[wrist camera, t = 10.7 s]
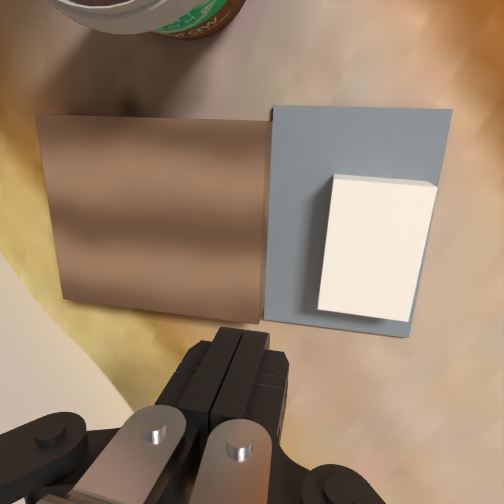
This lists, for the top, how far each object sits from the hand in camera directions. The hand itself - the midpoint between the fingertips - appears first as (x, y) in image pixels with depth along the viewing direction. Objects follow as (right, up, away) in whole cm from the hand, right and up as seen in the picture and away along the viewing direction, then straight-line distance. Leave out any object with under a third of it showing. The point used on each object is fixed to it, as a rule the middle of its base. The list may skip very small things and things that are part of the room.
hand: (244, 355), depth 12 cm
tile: (+8, +4, +14) cm, 16 cm away
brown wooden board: (-6, +6, +18) cm, 20 cm away
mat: (+7, +5, +15) cm, 17 cm away
